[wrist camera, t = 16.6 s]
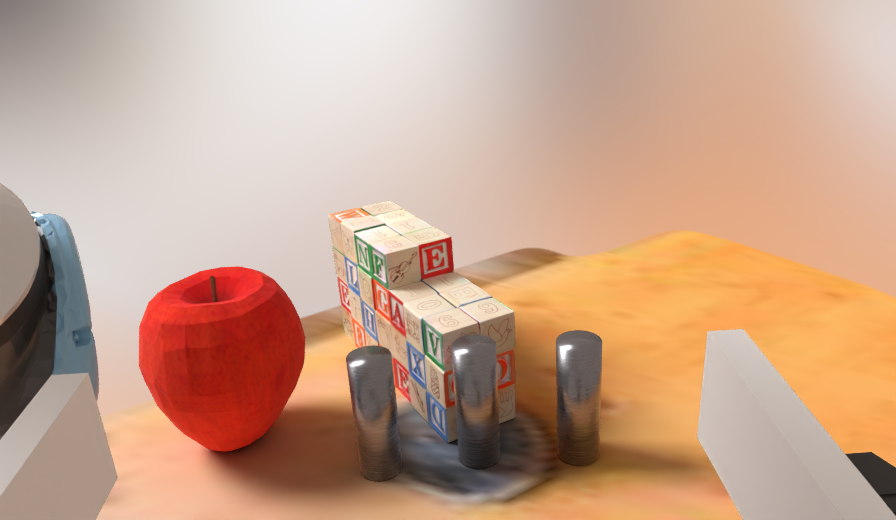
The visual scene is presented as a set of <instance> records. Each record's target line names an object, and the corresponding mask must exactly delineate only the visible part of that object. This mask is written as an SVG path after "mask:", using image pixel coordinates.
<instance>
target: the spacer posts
mask: <svg viewBox="0 0 896 520" xmlns="http://www.w3.org/2000/svg"><path fill="white" fill-rule="evenodd" d="M451 349H452V364H453V379H454V394H455V409H456V424H457V440H458V455H459V460H460V462H461V463H462V464H463V465H465V466H467V467H469V468H473V469H484V468H488V467H491V466H493V465H495V464H496V463H497V462H498V461H499V459H500V456H501V454H500V429H499V405H498V380H497V356H496V342H495V341H494V340H493V339H492V338H490V337H488V336H485V335H478V334H474V335H466V336H462V337H460V338H458V339H456V340H455V341H454V342H453V343H452V345H451ZM346 362H347V370H348V377H349V385H350V393H351V401H352V409H353V417H354V424H355V432H356V440H357V448H358V456H359V463H360V471H361V474H362V475H363V476H364V477H365V478H366V479H368V480H372V481H385V480H389V479H392V478H394V477H395V476H397V475H398V474H399V473H400V472H401V470H402V468H403V463H402V453H401V443H400V433H399V424H398V414H397V404H396V394H395V384H394V374H393V364H392V355H391V352H390V350H389V349H387V348H385V347H382V346H375V345H372V346H364V347H360V348H357V349H355V350H353V351H351V352H350V353H349V354H348V355H347V358H346ZM601 369H602V340H601V338H600V337H599V336H598V335H596V334H594V333H592V332H588V331H581V330H576V331H568V332H565V333H563V334H561V335H559V336H558V337H557V340H556V370H557V455H558V457H559V458H560V459H561V460H562V461H564V462H565V463H568V464H570V465H575V466H585V465H589V464H592V463H594V462H595V461H597V459H598V458H599V456H600V419H601Z"/></svg>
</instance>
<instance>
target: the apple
mask: <svg viewBox="0 0 896 520" xmlns="http://www.w3.org/2000/svg"><path fill="white" fill-rule="evenodd" d="M304 356H305V335H304V331H303V328H302V325H301V321H300V318H299V316H298V314H297V312H296V309H295V307H294V305H293V304H292V302H291V300H290V298H289V297H288V296H287V294H286V293H285V291H284V290H283V289H282V288H281V287H280V286H279V285H278V284H277V283H276V281H275V280H273V279H272V278H270V277H269V276H267V275H265V274H264V273H262V272H259V271H256V270H253V269H248V268H243V267H221V268H216V269H210V270H205V271H200V272H198V273H196V274H193V275H191V276H189V277H187V278H184V279H182V280H180V281H178V282H175V283H173V284H171V285H169V286H168V287H166V288H165V289H163V290H162V291H160V292H159V293H157V295H155V297H154V298H153V299H152V300H151V301H150V302H149V303H148V306H147V308H146V311H145V314H144V316H143V319H142V321H141V324H140V327H139V367H140V370H141V372H142V375H143V377H144V380H145V382H146V384H147V386H148V388H149V390H150V392H151V394H152V396H153V398H154V400H155V402H156V404H157V406H158V407H159V408H160V409H161V410H162V411H163V413H164V414H165V415H166V416H167V417H168V418H169V419H170V420H171V422H172V423H173V424H174V425H175V426H176V427H177V428H178V429H179V430H181V431H182V432H183V433H184V434H185V435H187V436H188V437H190V438H191V439H193V440H195V441H196V442H198V443H199V444H201V445H203V446H204V447H206V448H207V449H209V450H216V451H223V452H226V451H232V450H235V449H238V448H241V447H244V446H247V445H249V444H251V443H252V442H254V441H255V440H257V439H258V438H260V437H261V436H263V435H264V434H265V433H266V431H267V430H268V429H269V428H270V427H271V426H272V425H273V424H274V422H275V421H276V419H277V418H278V416H279V415H280V413H281V412H282V410H283V408H284V406H285V405H286V403H287V401H288V399H289V397H290V396H291V394H292V392H293V390H294V389H295V387H296V384H297V381H298V379H299V376H300V373H301V370H302V368H303V364H304Z"/></svg>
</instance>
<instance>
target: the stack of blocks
mask: <svg viewBox="0 0 896 520" xmlns="http://www.w3.org/2000/svg"><path fill="white" fill-rule="evenodd" d="M328 219H329V226H330V232H331V238H332V243H333V254H334V262H335V269H336V274H337V275H338V286H339V292H340V298H341V312H342V318H343V324H344V331H345V333H346V334H347V335H348V336H349V337H350V338H351V339H352V340H353V342H354V343H355V345H356V346H357V347H358V348H360V347H364V346H372V345H375V346H382V347H385V348H387V349H389V350H390V352H391V355H392V364H393V374H394V384H395V387H397V388H398V389H399V390H400V391H401V393H402V394H403V395H404V396H405V397H406V398H407V399H408V400H409V401H410V402H411V403H412V406H413V407H414V408H415V409H416V410H417V411H418V412H419V413H420V414H421V416H422V417H423V418H424V419H425V420H426V421H427V422H428V423H430V425H431V426H432V427H433V428H434V429H435V431H436V432H437V433H439V435H440V436H441V437H442V438H443V439H444V440H445V441H446V442H447V443H448V442H451V441H454V440H457V424H456V409H455V394H454V379H453V364H452V349H451V345H452V343H453V342H454V341H455V340H456V339H458V338H460V337H462V336H466V335H474V334H478V335H485V336H488V337H490V338H492V339H493V340H494V341H495V342H496V356H497V380H498V405H499V424H500V423H503V422H505V421H508V420H510V419H512V418H514V417H515V389H514V383H515V367H514V347H515V320H514V311H513V310H512V309H510V308H508V307H507V306H505V305H503V304H502V303H501V302H499V301H497V300H496V299H494V298H492V296H491V295H489V294H488V293H486V292H485V291H483V290H482V289H480V288H479V287H477V286H476V285H474V284H472V283H471V282H470V281H469V280H467V279H465V278H464V277H462V276H461V275H459V274H457V273H453V271H454V266H453V252H452V240H451V237H450V236H449V235H447V234H445V233H444V232H442V231H440V230H438V229H436V228H434V227H432V226H431V225H429V224H428V223H426V222H424V221H422V220H421V219H419V218H417V217H416V216H414V215H412V214H410V213H409V212H407V211H405V210H403V209H402V208H401V207H399V206H398V205H396V204H394V203H393V202H391V201H386V202H382V203H377V204H372V205H368V206H363V207H361V209H360V208H355V209H351V210H346V211H342V212H338V213H334V214H330V215H328Z"/></svg>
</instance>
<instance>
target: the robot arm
mask: <svg viewBox="0 0 896 520" xmlns="http://www.w3.org/2000/svg"><path fill="white" fill-rule="evenodd" d="M91 327H92V323H91V316H90V306H89V300H88V294H87V289H86V284H85V279H84V275H83V270H82V266H81V261H80V257H79V253H78V250H77V246H76V243H75V239H74V236H73V234H72V231H71V228H70V226H69V224H68V223H67V221H66V220H65V219H64V218H62V217H60V216H58V215H55V214H40V213H36V212H32V213H29V211H28V210H27V208H26V207H25V205H24V203H23V202H22V201H21V199H19V198H18V197H17V196H16V195H15V194H14V193H13V192H12V191H11V190H10V189H8V188H7V187H5V186H4V185H2V184H0V520H96V518H97V516H98V514H99V512H100V510H101V508H102V506H103V505H104V503H105V501H106V499H107V497H108V495H109V493H110V491H111V489H112V487H113V485H114V484H115V482H116V480H117V478H118V477H117V473H116V470H115V466H114V463H113V459H112V455H111V452H110V448H109V445H108V441H107V438H106V434H105V430H104V427H103V423H102V420H101V416H100V413H99V409H98V406H97V399H98V392H99V378H98V363H97V354H96V347H95V341H94V337H93V334H92V332H91ZM697 438H698V440H699V441H700V443H701V445H702V447H703V449H704V450H705V452H706V454H707V456H708V458H709V459H710V461H711V463H712V465H713V467H714V468H715V470H716V472H717V474H718V476H719V477H720V479H721V481H722V483H723V485H724V486H725V488H726V490H727V492H728V494H729V495H730V497H731V499H732V501H733V503H734V504H735V506H736V508H737V510H738V512H739V513H740V515H741V517H742V519H743V520H896V468H895V467H894V466H892V465H891V464H889V463H888V462H886V461H884V460H883V459H881V458H880V457H878V456H877V455H875V454H874V453H872V452H866V453H852V454H845V453H844V452H843V451H842V450H841V448H840V447H839V446H838V445H837V444H836V442H835V441H834V440H833V439H832V437H831V436H830V435H829V434H828V433H827V431H826V430H825V429H824V428H823V426H822V425H821V424H820V423H819V421H818V420H817V419H816V418H815V417H814V415H813V414H812V413H811V412H810V410H809V409H808V408H807V407H806V406H805V404H804V403H803V402H802V401H801V399H800V398H799V397H798V396H797V394H796V393H795V392H794V391H793V390H792V388H791V387H790V386H789V385H788V383H787V382H786V381H785V380H784V379H783V377H782V376H781V375H780V374H779V372H778V371H777V370H776V369H775V368H774V366H773V365H772V364H771V363H770V361H769V360H768V359H767V358H766V356H765V355H764V354H763V353H762V352H761V350H760V349H759V348H758V347H757V345H756V344H755V343H754V342H753V341H752V339H751V338H750V337H749V336H748V334H747V333H746V332H745V331H744V330H743V329H737V330H722V331H708V333H707V343H706V353H705V363H704V373H703V383H702V393H701V404H700V414H699V424H698V434H697Z"/></svg>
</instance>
